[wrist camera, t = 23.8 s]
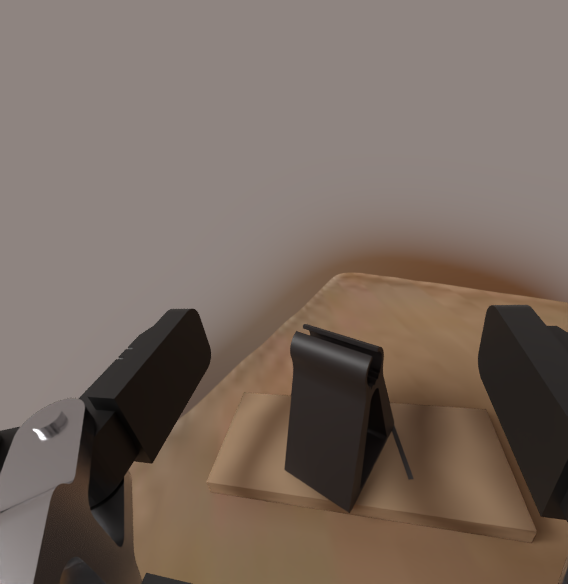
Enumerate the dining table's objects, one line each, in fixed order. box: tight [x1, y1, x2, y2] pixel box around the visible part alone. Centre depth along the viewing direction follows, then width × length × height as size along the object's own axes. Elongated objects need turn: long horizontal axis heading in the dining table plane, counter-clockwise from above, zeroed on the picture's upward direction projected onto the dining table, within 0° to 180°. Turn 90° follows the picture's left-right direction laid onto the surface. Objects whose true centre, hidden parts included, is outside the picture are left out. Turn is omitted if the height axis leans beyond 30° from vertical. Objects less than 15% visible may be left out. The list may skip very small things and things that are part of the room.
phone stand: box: [284, 324, 394, 513], centre depth 25 cm, size 9×6×12 cm, turn 142°
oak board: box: [207, 392, 537, 543], centre depth 28 cm, size 24×10×2 cm, turn 78°
